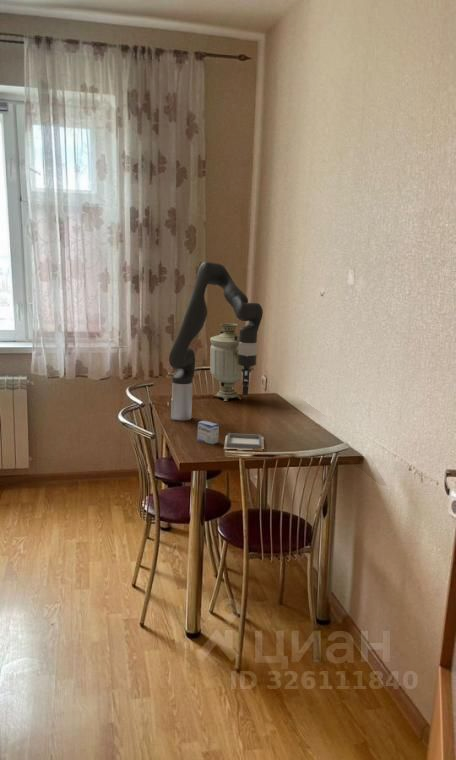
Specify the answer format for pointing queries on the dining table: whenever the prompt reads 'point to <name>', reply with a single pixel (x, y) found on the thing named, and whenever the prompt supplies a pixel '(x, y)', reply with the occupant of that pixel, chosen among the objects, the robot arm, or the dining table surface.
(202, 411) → the dining table surface
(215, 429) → the medicine box
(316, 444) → the dining table surface
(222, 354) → the samovar
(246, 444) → the board
